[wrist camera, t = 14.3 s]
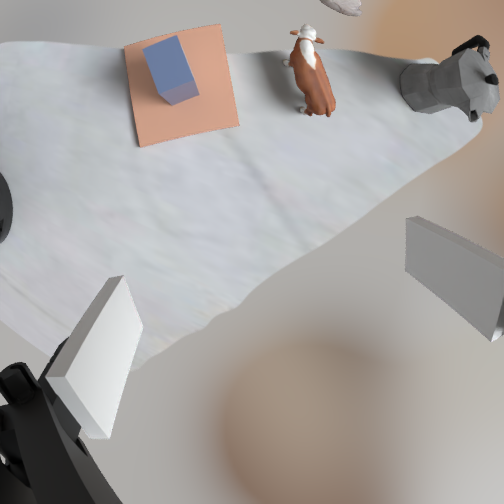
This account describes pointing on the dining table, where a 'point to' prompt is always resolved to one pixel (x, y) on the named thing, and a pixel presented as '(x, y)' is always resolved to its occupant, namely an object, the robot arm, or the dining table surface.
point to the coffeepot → (454, 82)
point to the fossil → (344, 6)
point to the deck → (171, 70)
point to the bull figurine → (311, 73)
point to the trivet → (194, 109)
